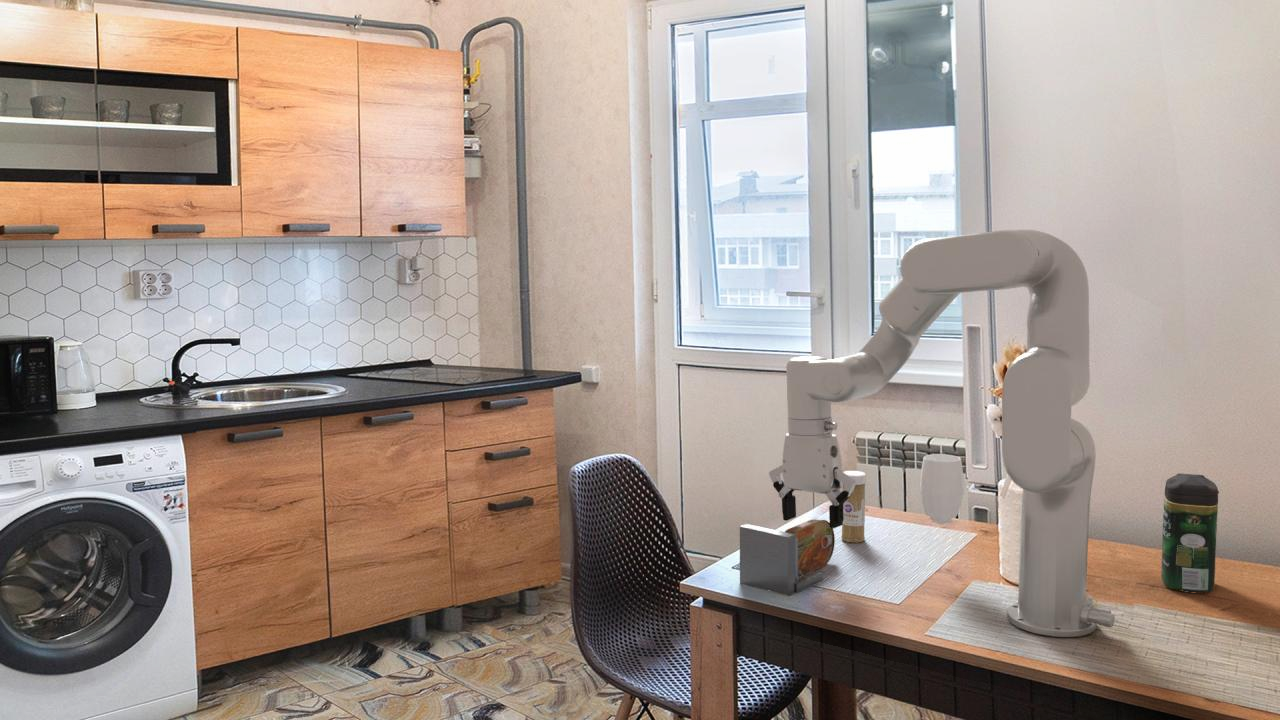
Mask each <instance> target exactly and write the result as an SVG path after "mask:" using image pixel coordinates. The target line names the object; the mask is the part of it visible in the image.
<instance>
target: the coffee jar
mask: <svg viewBox="0 0 1280 720" xmlns="http://www.w3.org/2000/svg"><path fill="white" fill-rule="evenodd" d="M1219 494H1220V491H1219V489H1218V486H1217V485H1216V483H1215V482H1213V480H1210V479H1209V478H1207V477H1205V476H1204V475H1203V474H1194V473H1193V474H1190V473H1176V474H1175V475H1173V476H1171V477H1169V478H1168V479H1167V480H1165V487H1164V496H1163V497H1164V498H1163V499H1164V500H1163V510H1162V513H1163V515H1162V539H1161V540H1162V542H1161V544H1162V545H1161V546H1162V549H1161V550H1162V552H1161V580H1162V582H1163V584H1164V586H1165V585H1166V586H1165V587H1167V588H1168V587H1169V588H1168V589H1172V588H1173V590H1176V589H1177V590H1176V591H1179V590H1183V591H1188V592H1200V594H1201V592H1202V593H1210V592H1212V591H1213V590H1214V589H1215V579H1216V578H1215V577H1216V551H1217V550H1216V549H1217V533H1218V532H1217V530H1218V512H1219V511H1218V510H1219Z"/></svg>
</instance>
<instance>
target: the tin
mask: <svg viewBox="0 0 1280 720" xmlns="http://www.w3.org/2000/svg"><path fill="white" fill-rule="evenodd" d="M784 532H786V533H791V534H795V538H796V539H798V578H801V577H803V576H802V575H804V576H806V575H808V574H810V573H812V572H814V571H816V570H818V569H820V568H822V567H824V566H826V565H827V564H828V563H829V562H830V560H831V559H832V556H833V553H834V551H835V541H836V540H835V531H834V528H831V527H830V521H828V520H826V519H814V518H813V519H809V520H807V521H805V522H802V523H800V524H797V525H794V526H793V527H790V528H788V529H786V530H785V531H784ZM817 568H818V569H817ZM815 569H816V570H815ZM813 570H814V571H813ZM811 571H812V572H811ZM809 572H810V573H809ZM807 573H808V574H807ZM805 574H806V575H805ZM800 576H801V577H800Z"/></svg>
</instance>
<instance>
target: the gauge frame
mask: <svg viewBox="0 0 1280 720" xmlns="http://www.w3.org/2000/svg"><path fill="white" fill-rule="evenodd" d="M821 581H822V582H823V581H824V572H822V571H820V570H818V571H817V570H814V571H812V572H810V573H808V574H806V575H804V576H801V577H798V579H797V580H795V534H791V533H786V532H785V531H782V530H781V531H780V530H777V529H772V528H767V527H763V526H758V525H755V524H749V523H745V524H742V525H739V583H740V584H742V585H747V586H750V587H755V588H757V589H761V590H765V591H769V592H773V593H775V594H780V595H783V596H787V597H789V596H792V595H794V594H798V593H801V592H802V591H805V590H807V589H809V588H811V587H813V586H815V585H817V584H820V583H821Z"/></svg>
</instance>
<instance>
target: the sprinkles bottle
mask: <svg viewBox="0 0 1280 720" xmlns="http://www.w3.org/2000/svg"><path fill="white" fill-rule="evenodd" d="M842 472H843V473H845V474H846V475H848V476H849V477H851V478H852V479H853V480H855V481H856V485H855V488H854V490H853V491H852V495H851V496H850V497H849V498H848V499H847V500H846V502H845V503H843V516H844V520H843V524H842V525H841V541H844V542H847V543H850V542H851V544H852V543H853V544H857V543H859V544H860V543H862V542H865V540H866V539H865V538H866V537H865V524H866V523H865V521H866V519H865V518H866V514H865V513H866V483H867V474H866V472H863V471H859V470H845V471H842ZM843 490H844V484H843V486H842V491H843Z"/></svg>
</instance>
